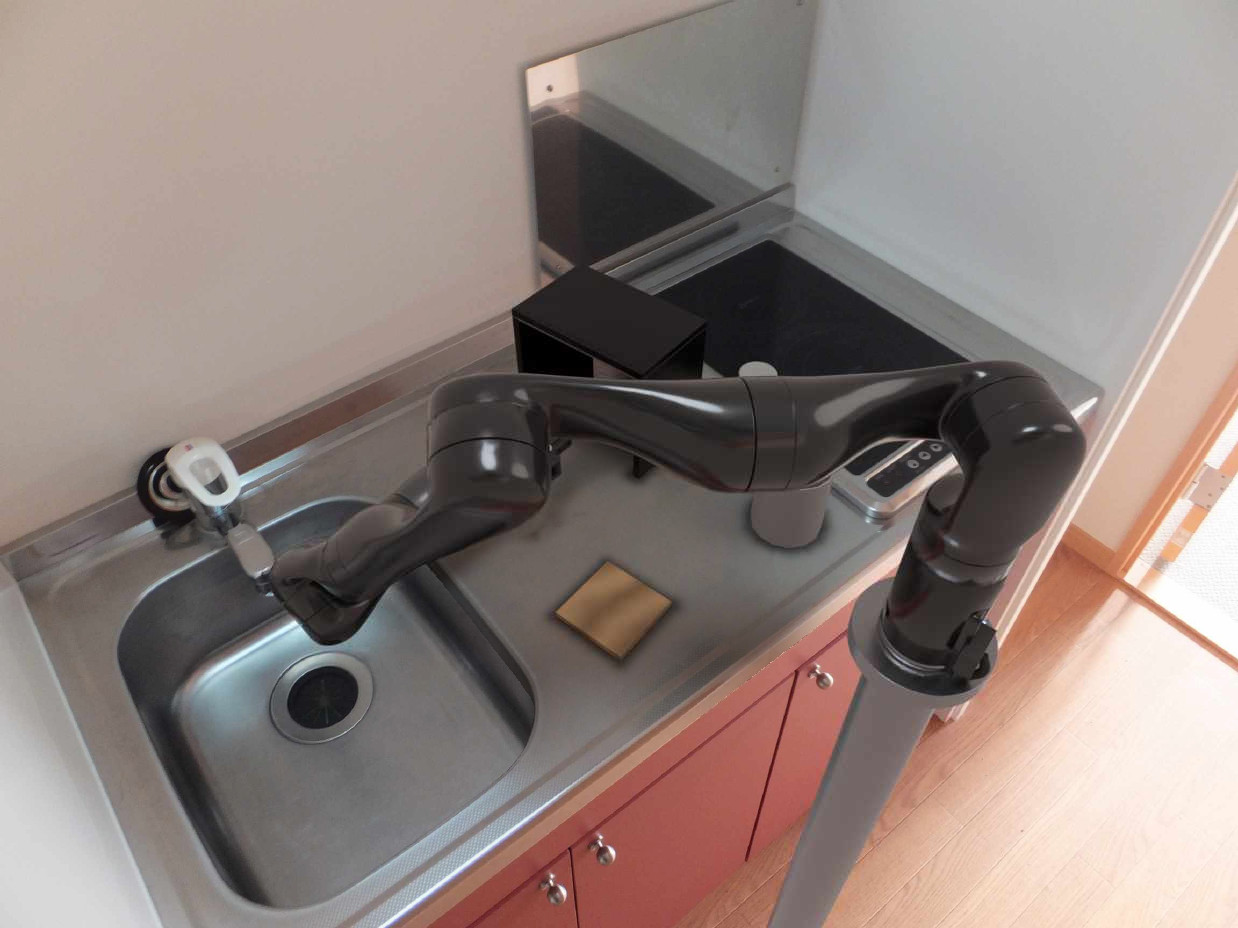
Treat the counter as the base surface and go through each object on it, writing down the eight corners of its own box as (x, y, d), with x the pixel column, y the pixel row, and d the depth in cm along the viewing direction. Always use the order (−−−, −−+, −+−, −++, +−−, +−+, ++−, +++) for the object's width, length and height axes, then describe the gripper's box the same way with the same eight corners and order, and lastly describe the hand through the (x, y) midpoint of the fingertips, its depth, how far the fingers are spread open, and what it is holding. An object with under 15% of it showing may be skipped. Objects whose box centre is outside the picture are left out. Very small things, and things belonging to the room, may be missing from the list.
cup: (736, 523, 105) (745, 465, 97) (774, 485, 109) (785, 426, 102) (797, 559, 101) (810, 501, 94) (833, 518, 105) (849, 459, 98)
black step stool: (698, 423, 117) (707, 320, 105) (638, 479, 110) (641, 374, 98) (584, 364, 126) (580, 262, 113) (522, 412, 118) (511, 308, 106)
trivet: (671, 605, 96) (671, 601, 96) (620, 661, 91) (620, 656, 91) (607, 565, 100) (607, 560, 100) (555, 616, 95) (555, 612, 95)
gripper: (486, 503, 90) (587, 419, 98) (393, 443, 96) (496, 369, 105) (493, 549, 95) (589, 465, 104) (405, 489, 101) (502, 415, 110)
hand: (542, 417), depth 104 cm, fingers open, 8 cm apart
